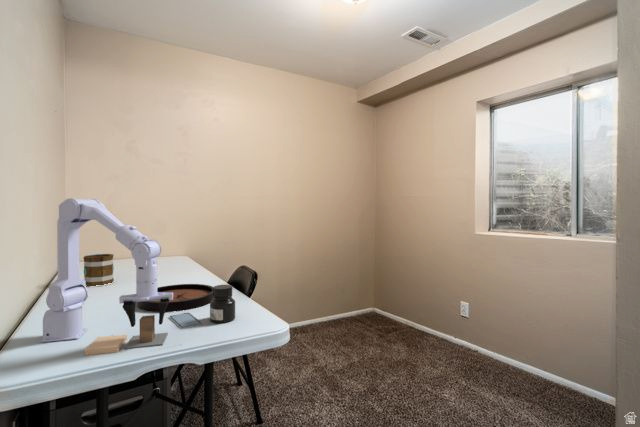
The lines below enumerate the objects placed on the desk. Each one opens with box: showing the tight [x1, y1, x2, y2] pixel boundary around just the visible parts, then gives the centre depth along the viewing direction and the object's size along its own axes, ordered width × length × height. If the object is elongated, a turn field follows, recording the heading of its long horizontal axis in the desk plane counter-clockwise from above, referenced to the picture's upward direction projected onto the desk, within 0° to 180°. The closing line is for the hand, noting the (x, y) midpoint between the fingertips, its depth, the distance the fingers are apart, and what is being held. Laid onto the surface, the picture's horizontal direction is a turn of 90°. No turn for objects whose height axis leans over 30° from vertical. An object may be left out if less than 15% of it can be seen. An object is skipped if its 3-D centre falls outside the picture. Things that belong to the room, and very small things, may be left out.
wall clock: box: [136, 283, 214, 313], centre depth 144 cm, size 31×4×31 cm
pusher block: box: [139, 314, 156, 343], centre depth 100 cm, size 3×3×7 cm
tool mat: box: [124, 332, 169, 350], centre depth 101 cm, size 10×9×1 cm
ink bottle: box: [209, 284, 236, 324], centre depth 120 cm, size 10×9×12 cm
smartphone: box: [169, 312, 203, 330], centre depth 119 cm, size 7×1×15 cm
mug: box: [83, 253, 115, 287], centre depth 176 cm, size 20×14×15 cm
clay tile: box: [84, 334, 128, 356], centre depth 96 cm, size 8×2×9 cm
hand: (147, 324), depth 101 cm, fingers open, 7 cm apart
